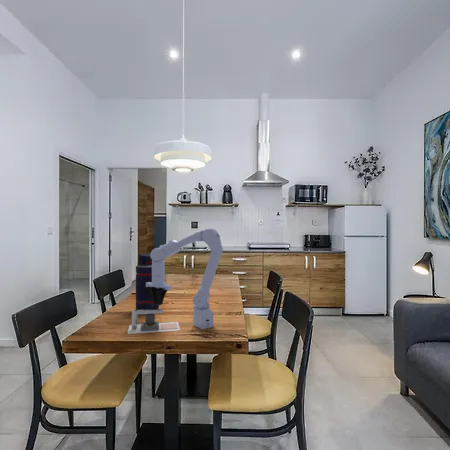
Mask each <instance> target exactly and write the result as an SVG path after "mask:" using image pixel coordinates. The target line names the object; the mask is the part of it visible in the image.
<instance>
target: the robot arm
mask: <svg viewBox="0 0 450 450" xmlns="http://www.w3.org/2000/svg"><path fill="white" fill-rule="evenodd" d="M194 242H204V243H205V244H206V245H207V246H208V248H209V250H210V255H209V258H208V261H207V264H206V268H205V269H204V270H205V271H204V274H203V276H202V278H201V279H202V280H201V283H200V286H199V287H198V290H197V292H196V293H195V295H194V296H193V298H192V304H193V321H192V322H193V324H192V325H193V327H196V328H199V329H201V330H204V329H210V328H213V327H214V311H212V309H211V307H210V304H209V300H210V297H211V295H210V291H211V287H212V284H213V281H214V278H215V275H216V272H217V269H218V266H219V263H220V260H221V256H222V254H223V250H224V248H223V245H222V241H221V236H220V234H219V233H218V231H217V230H216V229H214V228H205V229H204V230H200V231H196V232H194V233H192V234H190V235H188V236H186V237H184V238H182V239H180V240H173V239H170V240H168V242H167V243H165V244H161V245H159V247H156V248H155V247H154V248H153V249H152V250H151V252H150V253H149V254H150V256H151V259H152V282H147V283H146V287H151V289H149V291H150V293H151V295H152V298H153V302H154V304H158V305H159V306H161V305H163V304H164V299H165V296H166V293H168V291H171V290H172V285H170V284H167V283H166V282H165V281H166V280H165V278H166V277H165V275H166V274H165V269H166V266H165V264H166V263H165V260H166V258H169V257H171V256H174V255H176V254H177V253H179V252H180V250H181V249H182V248H183V247H186V246H188V245H189V244H192V243H194Z"/></svg>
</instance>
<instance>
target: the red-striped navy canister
mask: <svg viewBox="0 0 450 450" xmlns="http://www.w3.org/2000/svg"><path fill="white" fill-rule="evenodd" d="M150 254H151V253H144V254H142V253H141V254H139V255H138V262H137V265H136V266H135V273H136V274H135V310H148V309H160V305H158V304H154V302H153V298H152V295H151V293H150V291H149V289H151V287H146V283H147V282H152V259H151V256H150Z"/></svg>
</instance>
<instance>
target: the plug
mask: <svg viewBox="0 0 450 450" xmlns="http://www.w3.org/2000/svg"><path fill="white" fill-rule="evenodd" d="M144 315H145V319H144V322H145V326H155V322H156V314H144Z"/></svg>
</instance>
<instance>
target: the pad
mask: <svg viewBox="0 0 450 450" xmlns="http://www.w3.org/2000/svg"><path fill="white" fill-rule="evenodd" d="M164 329H177V324H176V323H172V324H161V330H164Z"/></svg>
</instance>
